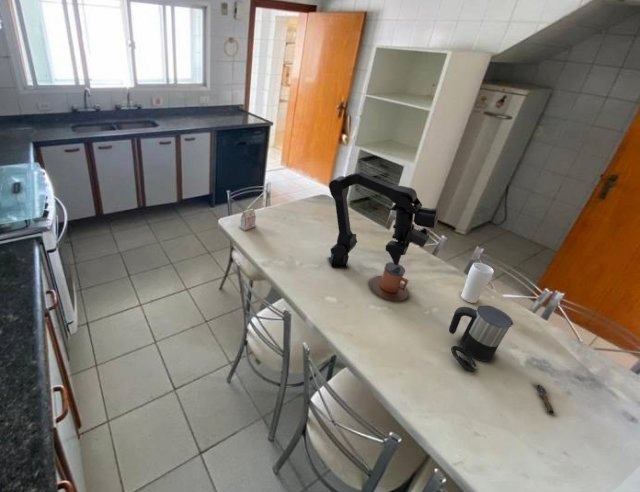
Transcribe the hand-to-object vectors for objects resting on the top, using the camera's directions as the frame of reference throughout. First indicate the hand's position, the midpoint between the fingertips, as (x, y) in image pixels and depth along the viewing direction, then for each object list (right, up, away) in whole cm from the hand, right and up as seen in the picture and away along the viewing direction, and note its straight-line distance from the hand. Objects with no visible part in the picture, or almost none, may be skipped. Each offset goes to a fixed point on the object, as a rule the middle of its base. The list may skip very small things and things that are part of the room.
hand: (400, 259), depth 125 cm
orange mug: (-1, -12, +4) cm, 13 cm away
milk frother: (+12, -27, -21) cm, 36 cm away
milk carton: (-57, +9, +43) cm, 72 cm away
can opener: (+24, -33, -34) cm, 53 cm away
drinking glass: (+28, -16, +2) cm, 32 cm away
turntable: (-2, -13, +5) cm, 14 cm away
